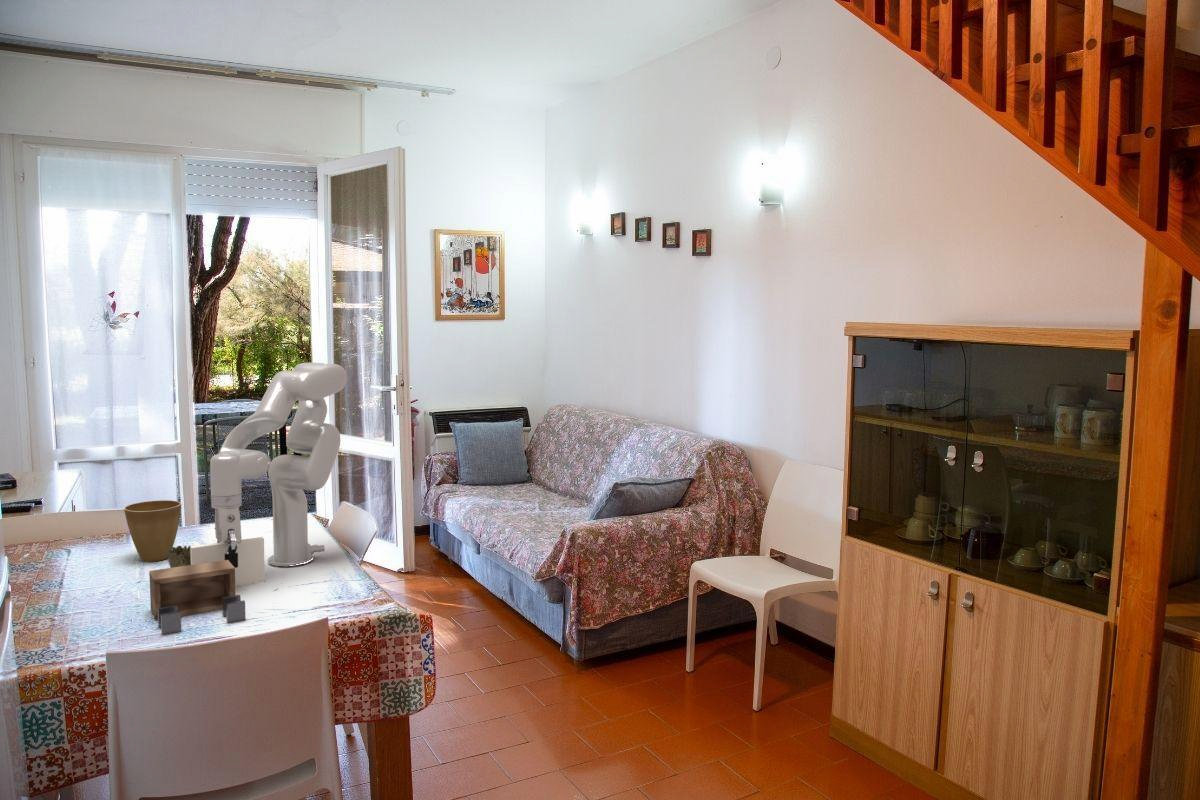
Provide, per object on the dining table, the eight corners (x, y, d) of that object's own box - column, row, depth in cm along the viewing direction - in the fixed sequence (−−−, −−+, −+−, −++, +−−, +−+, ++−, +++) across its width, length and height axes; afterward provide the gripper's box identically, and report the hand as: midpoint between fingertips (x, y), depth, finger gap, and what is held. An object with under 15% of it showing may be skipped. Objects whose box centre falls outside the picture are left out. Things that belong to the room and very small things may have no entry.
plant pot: (191, 551, 261) (190, 499, 259) (168, 566, 246) (166, 511, 245) (141, 550, 261) (140, 499, 259) (115, 565, 246) (113, 510, 244)
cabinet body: (228, 597, 221) (227, 559, 220) (235, 606, 215) (234, 568, 214) (150, 610, 211) (149, 570, 210) (155, 620, 205) (154, 579, 204)
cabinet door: (263, 579, 237) (262, 537, 235) (265, 582, 234) (264, 539, 233) (191, 590, 226) (190, 546, 225) (193, 593, 224) (192, 548, 223)
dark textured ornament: (185, 582, 233) (185, 553, 232) (161, 580, 234) (160, 551, 233) (203, 574, 240) (203, 546, 239) (180, 571, 241) (179, 544, 240)
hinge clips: (239, 612, 211) (239, 594, 211) (245, 619, 206) (245, 601, 206) (158, 626, 201) (157, 607, 200) (162, 634, 196) (161, 615, 196)
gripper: (248, 505, 223) (249, 569, 225) (234, 493, 237) (235, 553, 239) (217, 508, 219) (218, 573, 220) (204, 495, 233) (205, 557, 235)
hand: (227, 563), depth 230 cm, fingers open, 9 cm apart
